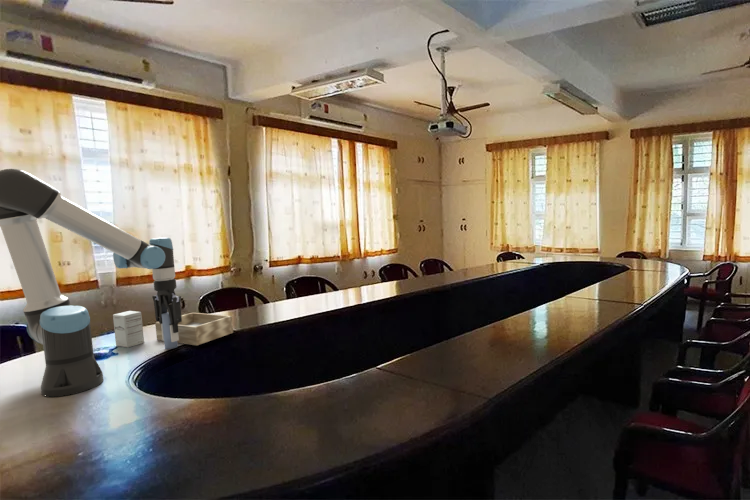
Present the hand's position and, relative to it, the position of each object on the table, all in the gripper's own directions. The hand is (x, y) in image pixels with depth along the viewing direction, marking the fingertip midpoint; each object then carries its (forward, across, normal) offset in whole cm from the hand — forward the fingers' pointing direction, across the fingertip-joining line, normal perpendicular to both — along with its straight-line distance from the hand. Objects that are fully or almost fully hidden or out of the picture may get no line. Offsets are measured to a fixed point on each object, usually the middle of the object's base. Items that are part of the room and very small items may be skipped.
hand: (170, 340), depth 163 cm
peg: (+3, 0, 0) cm, 3 cm away
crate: (+3, +4, -14) cm, 15 cm away
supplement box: (+3, +21, +3) cm, 21 cm away
